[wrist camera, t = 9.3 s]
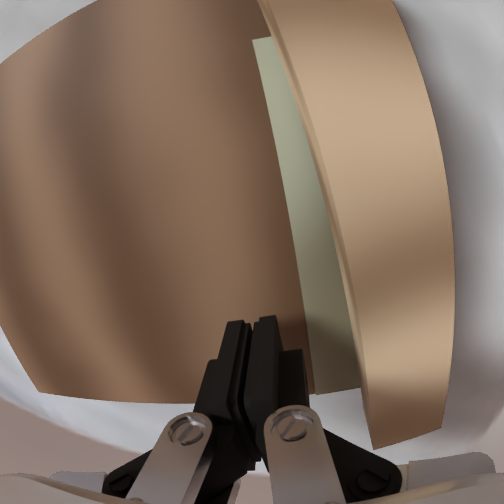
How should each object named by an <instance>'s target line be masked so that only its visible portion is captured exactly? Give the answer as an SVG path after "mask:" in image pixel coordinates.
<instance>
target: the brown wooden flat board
mask: <svg viewBox="0 0 504 504" xmlns="http://www.w3.org/2000/svg"><path fill="white" fill-rule="evenodd" d="M270 315H276V317H277V322H278V326H279V331H280V336H281V340H282V345H283V350H284V351H288V350H294V349H301V348H302V349H303V354H304V360H305V367H306V373H307V381H308V392H309V394H316V395H319V394H326V393H332V392H338V391H344V390H349V389H354V388H360V387H361V385H360V378H359V371H358V364H357V357H356V351H355V345H354V339H353V333H352V327H351V321H350V316H349V311H348V305H347V300H346V295H345V290H344V285H343V280H342V275H341V270H340V266H339V261H338V257H337V252H336V248H335V243H334V239H333V235H332V231H331V226H330V222H329V218H328V214H327V210H326V206H325V202H324V198H323V195H322V191H321V187H320V183H319V180H318V176H317V172H316V169H315V165H314V162H313V158H312V155H311V151H310V148H309V145H308V141H307V138H306V135H305V131H304V128H303V125H302V122H301V119H300V115H299V112H298V109H297V106H296V103H295V100H294V97H293V94H292V91H291V88H290V85H289V82H288V79H287V76H286V74H285V71H284V68H283V65H282V62H281V60H280V57H279V54H278V51H277V49H276V46H275V43H274V41H273V38H272V36H271V33H270V31H269V28H268V25H267V23H266V20H265V18H264V15H263V13H262V11H261V8H260V6H259V3H258V1H257V0H97V1H95V2H93V3H91V4H89V5H88V6H86V7H84V8H82V9H80V10H78V11H77V12H75V13H73V14H71V15H70V16H68V17H66V18H65V19H63V20H61V21H60V22H58V23H56V24H55V25H53V26H52V27H50V28H49V29H47V30H45V31H44V32H42V33H41V34H40V35H38V36H37V37H35V38H34V39H32V40H31V41H29V42H28V43H27V44H25V45H24V46H23V47H21V48H20V49H19V50H17V51H16V52H15V53H13V54H12V55H11V56H9V57H8V58H7V59H6V60H4V61H3V62H2V63H1V64H0V326H1V328H2V330H3V332H4V334H5V335H6V337H7V339H8V341H9V343H10V345H11V347H12V349H13V350H14V352H15V354H16V356H17V358H18V359H19V361H20V363H21V364H22V366H23V368H24V369H25V371H26V373H27V374H28V376H29V378H30V379H31V381H32V382H33V384H34V385H35V387H36V388H37V390H38V391H39V392H42V393H48V394H54V395H61V396H68V397H76V398H85V399H95V400H106V401H119V402H136V403H172V404H186V403H196V400H197V396H198V393H199V390H200V386H201V383H202V380H203V376H204V373H205V370H206V367H207V363H208V361H209V360H211V359H217V358H218V354H219V350H220V347H221V343H222V339H223V335H224V332H225V328H226V324H227V322H228V321H236V320H244V321H245V323H250V324H251V327H252V330H253V325H254V322H258V321H259V318H260V317H264V316H270Z"/></svg>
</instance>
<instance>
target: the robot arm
mask: <svg viewBox="0 0 504 504" xmlns="http://www.w3.org/2000/svg"><path fill="white" fill-rule="evenodd" d="M261 458H263V461H264V463H265V466H266V468H267V471H268V472H269V474H270V480H271V488H272V495H273V503H274V504H504V473H496V471H495V465H494V463H493V460H492V459H491V458H490V457H489V456H488V455H486V454H483V453H481V452H472V453H466V454H461V455H455V456H449V457H442V458H434V459H426V460H417V461H409V463H408V464H405V465H395V464H393V463H392V462H390V461H388V460H386V459H384V458H381V457H379V456H377V455H375V454H373V453H371V452H369V451H367V450H365V449H362V448H360V447H358V446H356V445H354V444H352V443H350V442H348V441H346V440H344V439H343V438H341V437H339V436H337V435H335V434H333V433H331V432H329V431H327V430H325V429H324V428H322V425H321V421H320V418H319V417H318V415H317V413H316V412H315V411H314V410H312V409H311V408H310V404H309V392H308V381H307V373H306V367H305V360H304V354H303V349H302V348H301V349H294V350H288V351H284V350H283V345H282V340H281V336H280V331H279V326H278V322H277V317H276V315H270V316H264V317H260V318H259V321H258V322H254V325H253V330H252V327H251V324H250V323H245V321H244V320H236V321H228V322H227V324H226V328H225V332H224V335H223V339H222V343H221V347H220V350H219V354H218V358H217V359H211V360H209V361H208V363H207V367H206V370H205V373H204V376H203V380H202V383H201V386H200V390H199V393H198V396H197V400H196V403H195V406H194V410H193V412H188V413H184V414H181V415H179V416H177V417H175V418H173V419H172V420H171V421H169V423H168V424H167V425H166V426H165V428H164V430H163V432H162V433H161V435H160V437H159V439H158V441H157V442H156V444H155V446H154V448H153V449H152V450H150V451H148V452H146V453H145V454H143V455H141V456H139V457H137V458H136V459H134V460H132V461H130V462H128V463H126V464H125V465H123V466H121V467H119V468H117V469H116V470H114V471H112V472H111V473H109V475H107V474H106V472H70V471H59V472H56V473H54V474H52V475H51V476H50V477H49V478H47V477H43V476H38V475H34V474H24V473H12V474H4V475H0V504H235V501H236V498H237V495H238V491H239V488H240V484H241V479H240V478H241V477H242V476H244V475H245V474H246V473H247V471H253V470H255V464H256V462H260V461H261Z"/></svg>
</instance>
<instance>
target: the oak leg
mask: <svg viewBox="0 0 504 504" xmlns="http://www.w3.org/2000/svg"><path fill="white" fill-rule="evenodd" d="M257 1H258V3H259V6H260V8H261V11H262V13H263V15H264V18H265V20H266V23H267V25H268V28H269V31H270V33H271V36H272V38H273V41H274V43H275V46H276V49H277V51H278V54H279V57H280V60H281V62H282V65H283V68H284V71H285V74H286V76H287V79H288V82H289V85H290V88H291V91H292V94H293V97H294V100H295V103H296V106H297V109H298V112H299V115H300V119H301V122H302V125H303V128H304V131H305V135H306V138H307V141H308V145H309V148H310V151H311V155H312V158H313V162H314V165H315V169H316V172H317V176H318V180H319V183H320V187H321V191H322V195H323V198H324V202H325V206H326V210H327V214H328V218H329V222H330V226H331V231H332V235H333V239H334V243H335V248H336V252H337V257H338V261H339V266H340V270H341V275H342V280H343V285H344V290H345V295H346V300H347V305H348V311H349V316H350V321H351V327H352V333H353V339H354V345H355V351H356V357H357V364H358V371H359V378H360V385H361V392H362V400H363V408H364V412H365V416H366V421H367V425H368V429H369V433H370V438H371V442H372V447H373V450H375V449H379V448H383V447H386V446H389V445H393V444H396V443H399V442H402V441H406V440H409V439H412V438H415V437H417V436H420V435H423V434H426V433H429V432H431V431H434V430H437V429H439V428H441V425H442V420H443V415H444V409H445V403H446V397H447V391H448V384H449V376H450V368H451V359H452V348H453V334H454V314H455V264H454V244H453V230H452V219H451V210H450V201H449V193H448V186H447V180H446V173H445V168H444V162H443V156H442V151H441V146H440V142H439V137H438V132H437V128H436V124H435V120H434V116H433V112H432V108H431V104H430V101H429V97H428V94H427V90H426V87H425V84H424V80H423V77H422V74H421V71H420V68H419V65H418V62H417V59H416V56H415V54H414V51H413V48H412V46H411V43H410V40H409V38H408V35H407V33H406V30H405V28H404V25H403V23H402V21H401V18H400V16H399V14H398V12H397V9H396V7H395V5H394V3H393V1H392V0H257Z"/></svg>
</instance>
